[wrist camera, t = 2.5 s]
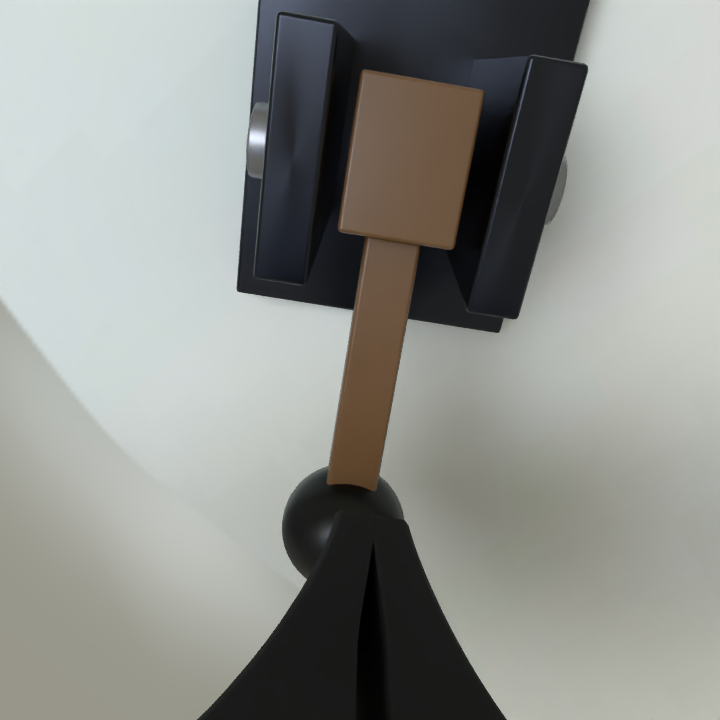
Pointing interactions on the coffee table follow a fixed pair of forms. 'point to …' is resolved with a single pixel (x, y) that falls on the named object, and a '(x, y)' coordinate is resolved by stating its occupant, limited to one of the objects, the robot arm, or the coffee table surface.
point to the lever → (384, 280)
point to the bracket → (333, 133)
